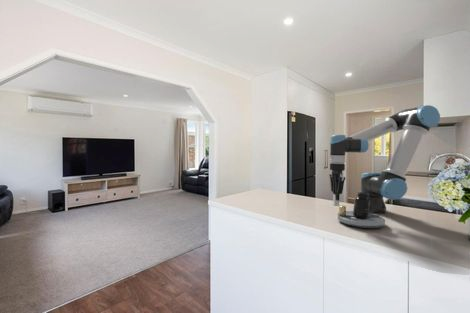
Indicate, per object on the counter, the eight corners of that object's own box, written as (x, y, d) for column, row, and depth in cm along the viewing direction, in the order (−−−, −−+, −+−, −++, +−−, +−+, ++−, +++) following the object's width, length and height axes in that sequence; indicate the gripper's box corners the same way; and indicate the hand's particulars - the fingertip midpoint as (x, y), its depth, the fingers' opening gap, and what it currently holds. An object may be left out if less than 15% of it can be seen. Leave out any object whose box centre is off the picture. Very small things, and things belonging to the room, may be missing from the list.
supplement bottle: (367, 219, 109) (370, 195, 109) (352, 216, 113) (354, 192, 112) (368, 216, 115) (371, 193, 114) (353, 213, 119) (356, 190, 118)
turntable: (374, 215, 122) (375, 203, 122) (393, 229, 102) (393, 214, 101) (333, 213, 126) (333, 201, 126) (343, 226, 106) (343, 211, 106)
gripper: (325, 162, 129) (324, 202, 130) (336, 163, 116) (335, 208, 117) (338, 162, 129) (336, 202, 130) (350, 164, 116) (349, 208, 117)
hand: (336, 205), depth 124 cm, fingers closed
